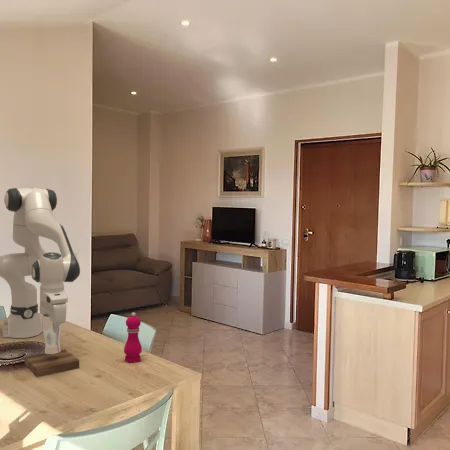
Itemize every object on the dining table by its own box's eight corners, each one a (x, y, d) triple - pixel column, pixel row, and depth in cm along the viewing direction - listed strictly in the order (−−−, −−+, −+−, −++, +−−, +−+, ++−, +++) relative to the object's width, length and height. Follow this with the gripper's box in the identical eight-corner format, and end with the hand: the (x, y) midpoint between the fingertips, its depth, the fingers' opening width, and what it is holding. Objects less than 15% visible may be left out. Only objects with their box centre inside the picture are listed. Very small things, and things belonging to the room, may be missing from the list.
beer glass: (47, 356, 178) (45, 317, 177) (40, 351, 183) (39, 314, 182) (64, 352, 183) (63, 314, 181) (58, 347, 188) (57, 311, 187)
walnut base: (24, 364, 184) (24, 356, 184) (64, 356, 194) (64, 349, 194) (37, 377, 172) (37, 369, 172) (79, 367, 182) (79, 360, 182)
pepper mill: (135, 356, 197) (136, 309, 196) (145, 360, 192) (145, 312, 191) (120, 359, 192) (121, 312, 191) (130, 364, 187) (130, 315, 186)
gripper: (35, 290, 187) (35, 324, 188) (52, 300, 172) (52, 337, 172) (51, 289, 191) (51, 322, 192) (69, 298, 175) (69, 334, 176)
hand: (51, 329), depth 182 cm, fingers closed on beer glass, 7 cm apart
